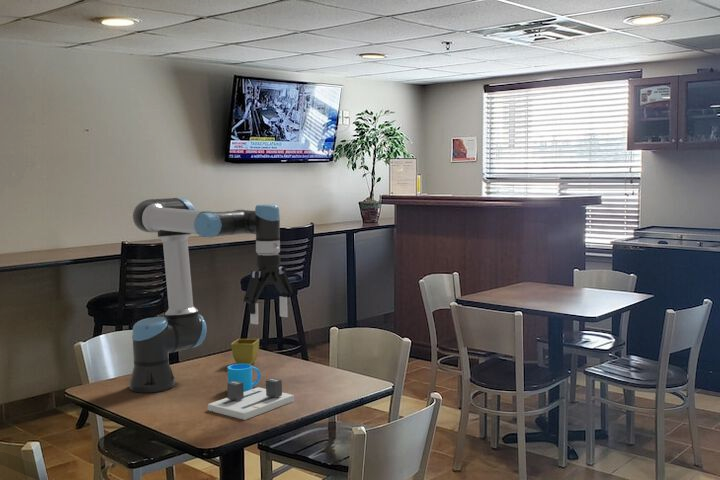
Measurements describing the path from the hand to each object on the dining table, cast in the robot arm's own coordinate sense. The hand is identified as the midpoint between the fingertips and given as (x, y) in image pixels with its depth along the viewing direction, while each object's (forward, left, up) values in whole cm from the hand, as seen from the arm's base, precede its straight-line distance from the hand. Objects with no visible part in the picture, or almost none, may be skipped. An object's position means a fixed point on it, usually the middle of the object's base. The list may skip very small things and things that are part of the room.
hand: (269, 320), depth 236 cm
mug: (-17, +5, -27) cm, 32 cm away
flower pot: (-41, +29, -27) cm, 57 cm away
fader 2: (+2, -1, -24) cm, 24 cm away
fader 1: (-6, -10, -24) cm, 27 cm away
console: (-2, -7, -26) cm, 27 cm away
